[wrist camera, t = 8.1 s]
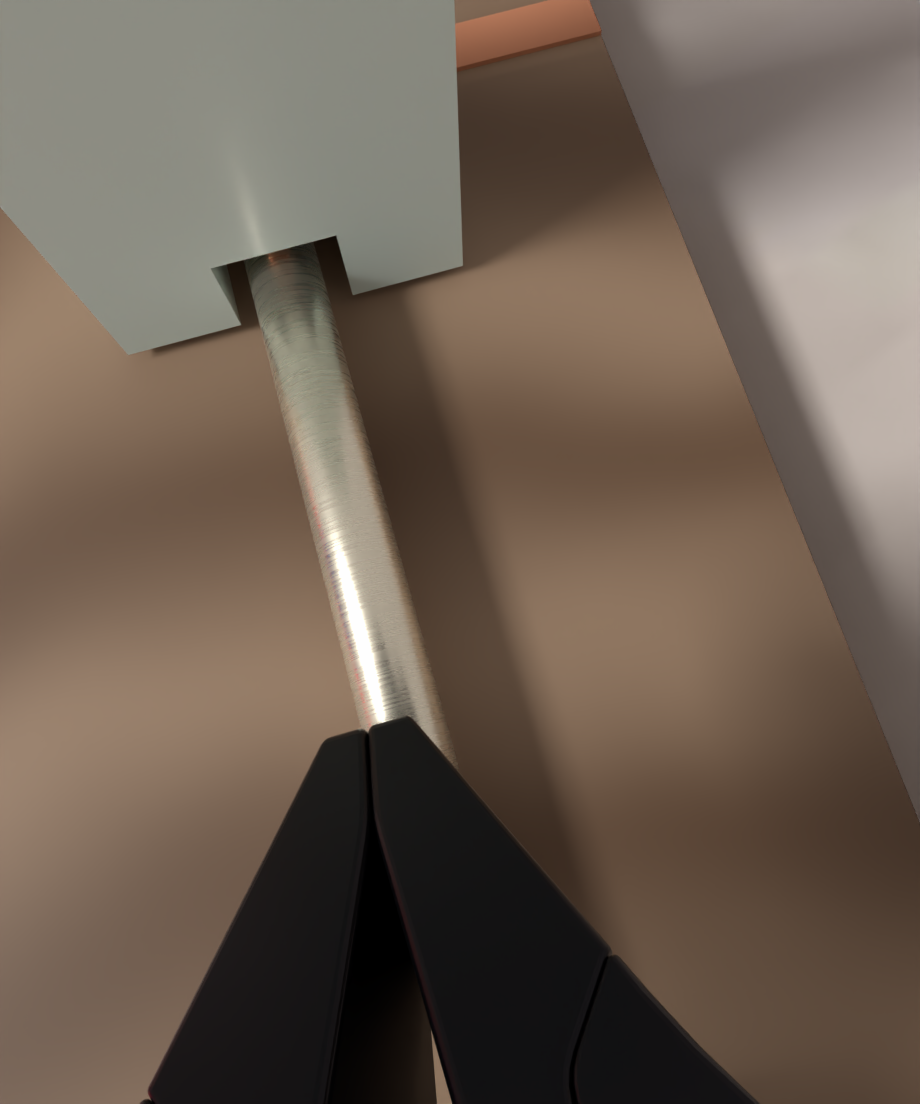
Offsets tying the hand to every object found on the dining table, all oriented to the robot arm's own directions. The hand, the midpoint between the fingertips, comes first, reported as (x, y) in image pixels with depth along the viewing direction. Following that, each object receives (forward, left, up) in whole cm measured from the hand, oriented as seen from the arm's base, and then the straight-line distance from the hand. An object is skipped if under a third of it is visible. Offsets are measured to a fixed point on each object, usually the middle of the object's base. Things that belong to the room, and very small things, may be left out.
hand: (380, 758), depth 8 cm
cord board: (+4, -1, -7) cm, 8 cm away
